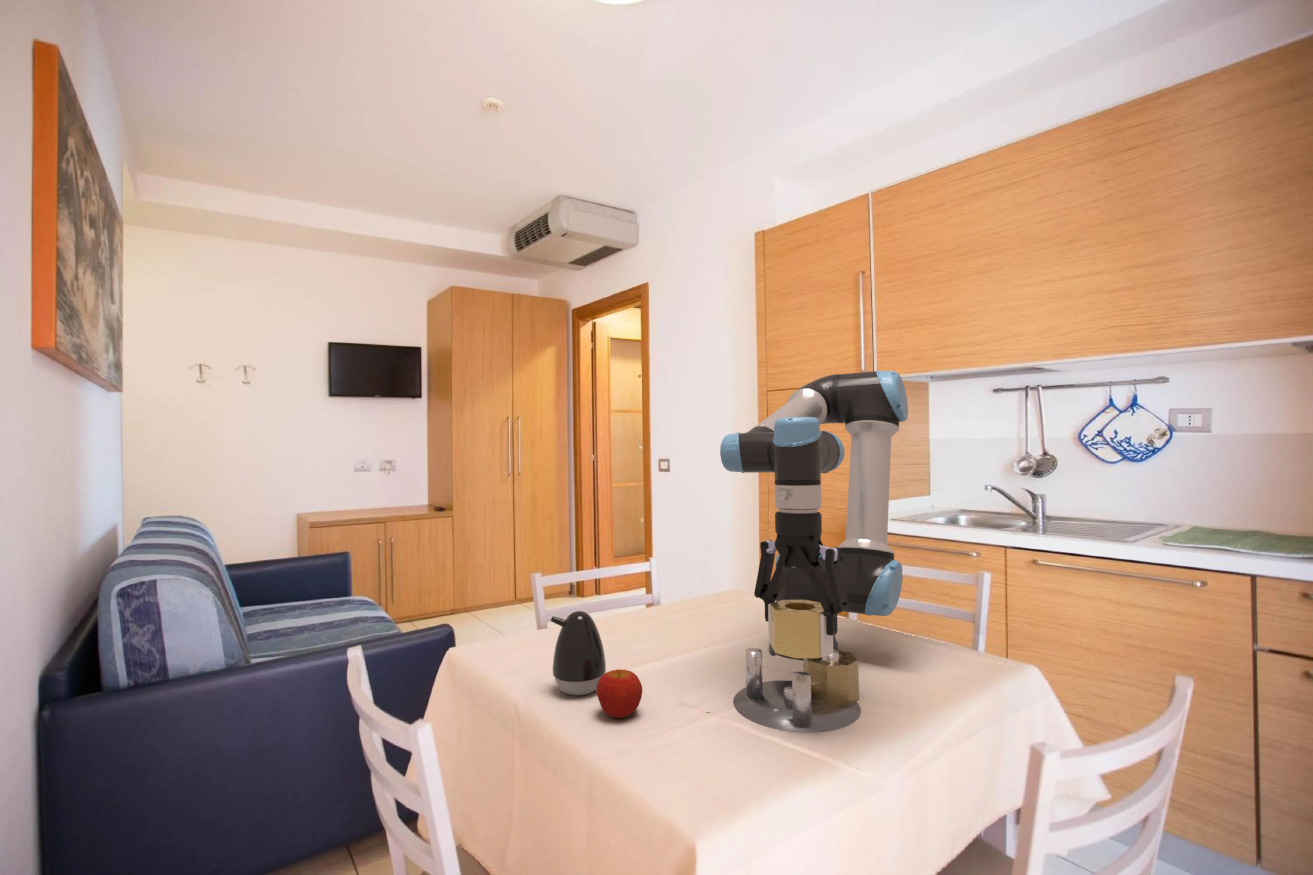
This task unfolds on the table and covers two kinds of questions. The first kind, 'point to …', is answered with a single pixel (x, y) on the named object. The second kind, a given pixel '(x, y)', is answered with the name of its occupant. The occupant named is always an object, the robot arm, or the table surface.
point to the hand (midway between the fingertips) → (800, 647)
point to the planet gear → (796, 628)
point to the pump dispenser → (578, 654)
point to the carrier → (789, 701)
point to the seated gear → (834, 679)
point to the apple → (619, 693)
